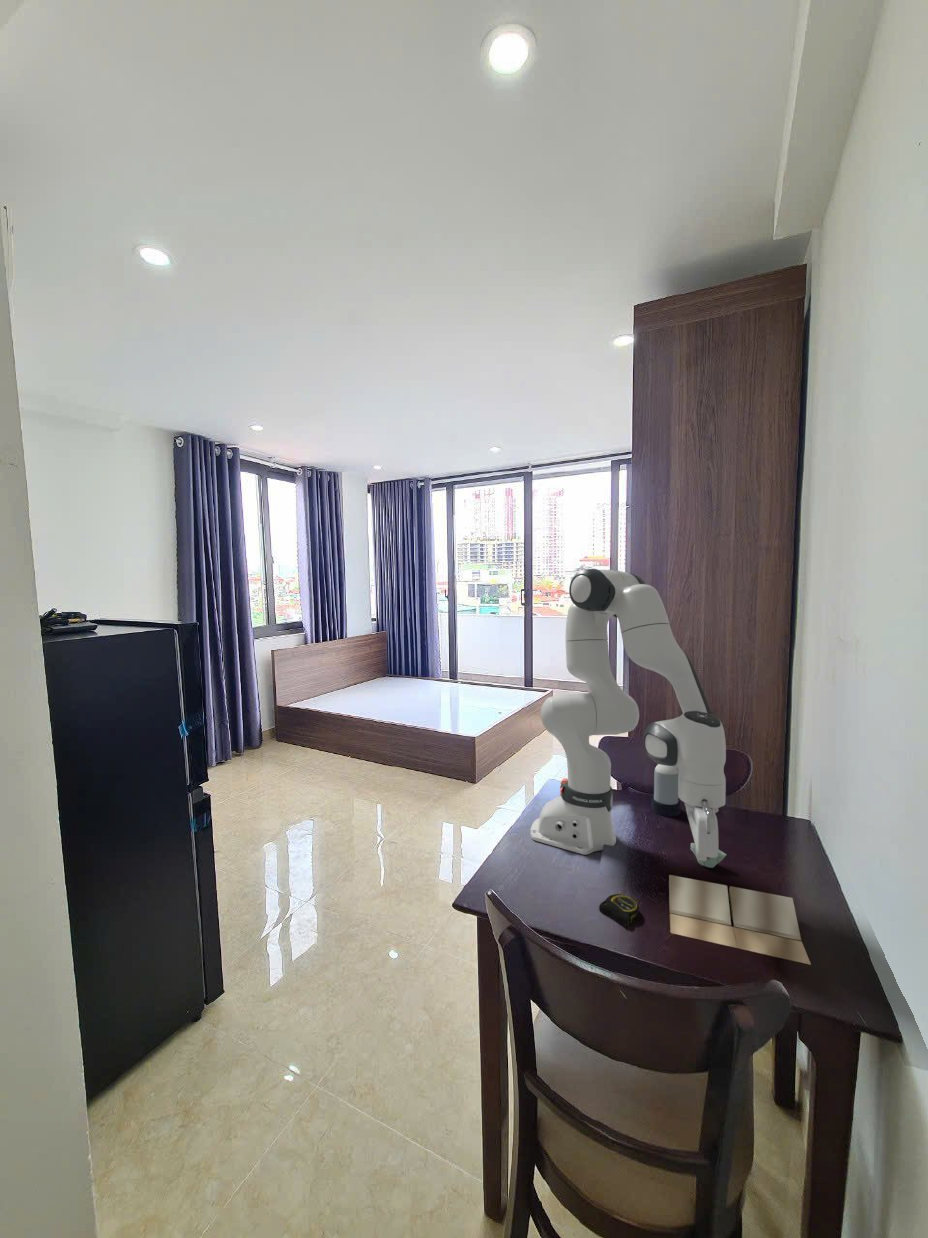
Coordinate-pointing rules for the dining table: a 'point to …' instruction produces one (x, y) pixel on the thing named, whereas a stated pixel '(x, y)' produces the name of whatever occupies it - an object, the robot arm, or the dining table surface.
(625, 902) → the tape measure
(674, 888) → the plank
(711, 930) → the laid strip
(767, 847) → the dining table surface
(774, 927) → the plank
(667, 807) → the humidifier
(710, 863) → the pale green lumpy piece
